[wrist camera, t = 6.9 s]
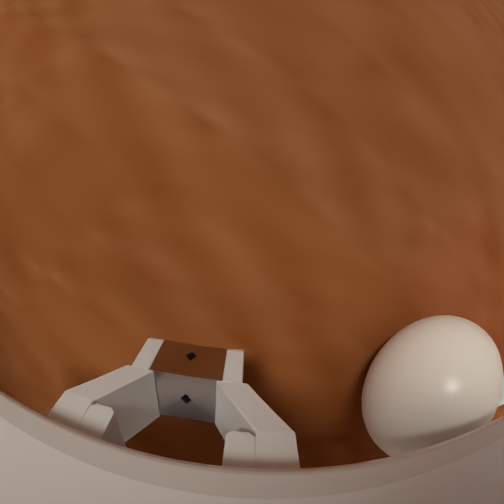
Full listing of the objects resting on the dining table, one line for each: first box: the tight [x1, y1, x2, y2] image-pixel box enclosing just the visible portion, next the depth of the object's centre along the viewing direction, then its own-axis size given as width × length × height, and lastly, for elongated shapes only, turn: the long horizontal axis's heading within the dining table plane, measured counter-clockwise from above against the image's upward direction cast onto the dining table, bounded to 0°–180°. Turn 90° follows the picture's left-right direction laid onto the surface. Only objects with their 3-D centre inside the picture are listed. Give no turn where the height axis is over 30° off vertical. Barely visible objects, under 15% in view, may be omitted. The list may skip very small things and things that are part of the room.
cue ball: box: [362, 315, 503, 456], centre depth 7 cm, size 6×6×6 cm
